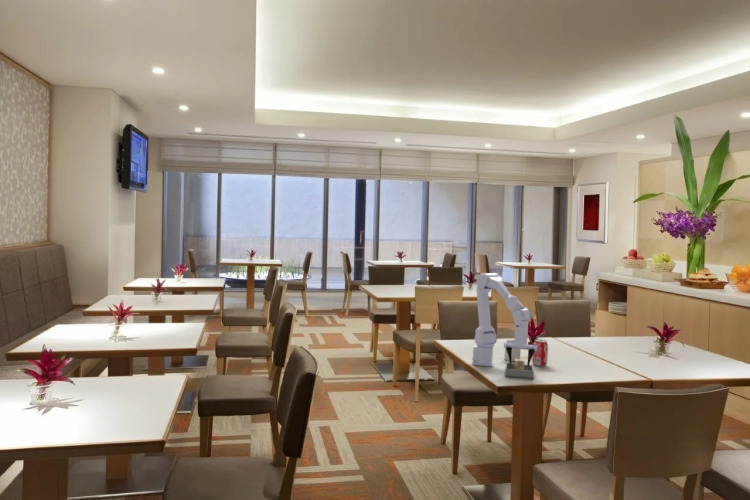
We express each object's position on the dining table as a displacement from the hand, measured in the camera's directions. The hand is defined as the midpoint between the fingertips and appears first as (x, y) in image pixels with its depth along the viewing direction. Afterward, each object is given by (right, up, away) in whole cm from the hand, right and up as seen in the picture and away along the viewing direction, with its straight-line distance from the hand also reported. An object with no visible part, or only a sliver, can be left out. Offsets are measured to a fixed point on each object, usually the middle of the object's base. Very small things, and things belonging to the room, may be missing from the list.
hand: (519, 364), depth 267 cm
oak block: (0, -4, 0) cm, 4 cm away
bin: (0, -4, 0) cm, 4 cm away
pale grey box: (+4, -4, +30) cm, 30 cm away
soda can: (+15, -4, +21) cm, 26 cm away
